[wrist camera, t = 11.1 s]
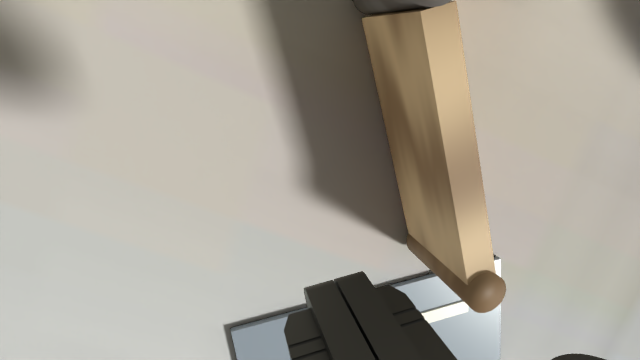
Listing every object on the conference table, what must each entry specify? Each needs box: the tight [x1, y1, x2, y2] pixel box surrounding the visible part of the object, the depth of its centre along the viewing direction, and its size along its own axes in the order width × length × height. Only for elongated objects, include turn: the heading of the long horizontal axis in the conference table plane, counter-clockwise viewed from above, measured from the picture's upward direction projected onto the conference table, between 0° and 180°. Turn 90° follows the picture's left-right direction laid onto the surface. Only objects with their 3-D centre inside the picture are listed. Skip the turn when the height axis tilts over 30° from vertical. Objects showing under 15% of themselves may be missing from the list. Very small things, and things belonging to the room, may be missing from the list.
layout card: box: [230, 257, 501, 360], centre depth 24 cm, size 14×7×1 cm, turn 97°
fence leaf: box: [353, 0, 506, 313], centre depth 18 cm, size 13×2×5 cm, turn 15°
